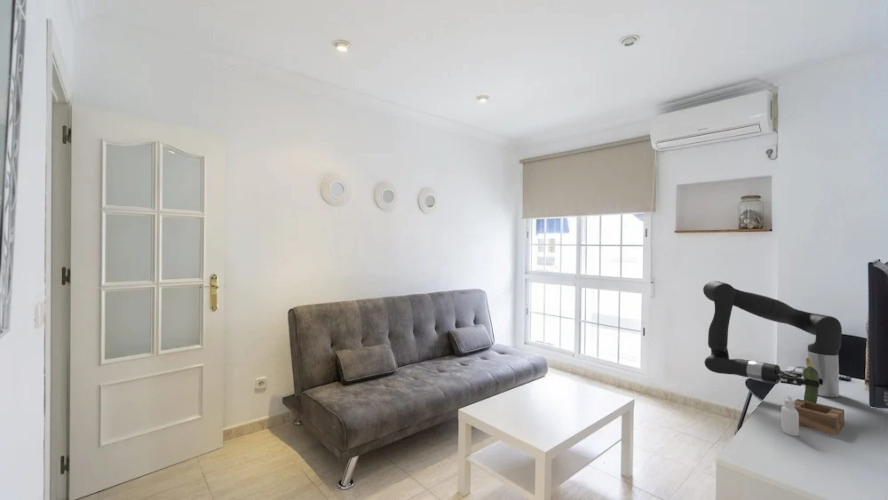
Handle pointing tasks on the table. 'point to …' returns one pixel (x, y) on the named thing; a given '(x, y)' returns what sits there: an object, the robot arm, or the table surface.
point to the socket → (820, 416)
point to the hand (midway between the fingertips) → (820, 383)
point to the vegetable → (810, 374)
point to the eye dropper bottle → (790, 418)
